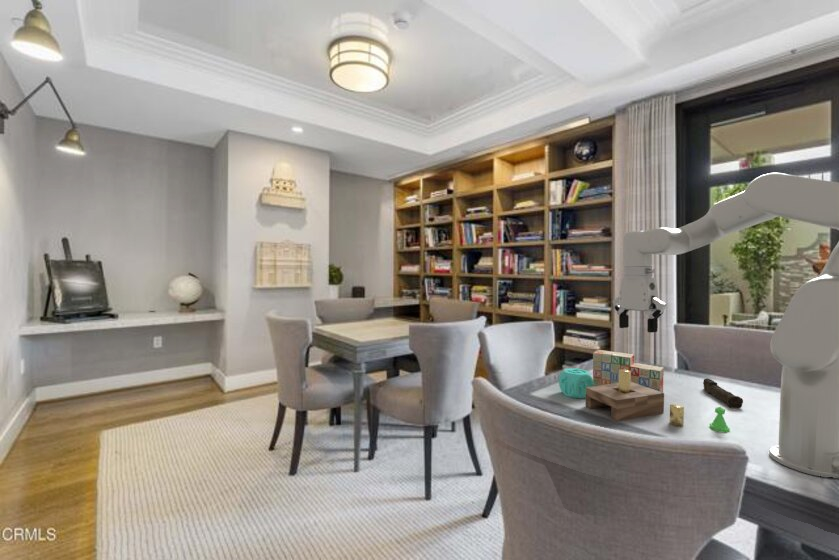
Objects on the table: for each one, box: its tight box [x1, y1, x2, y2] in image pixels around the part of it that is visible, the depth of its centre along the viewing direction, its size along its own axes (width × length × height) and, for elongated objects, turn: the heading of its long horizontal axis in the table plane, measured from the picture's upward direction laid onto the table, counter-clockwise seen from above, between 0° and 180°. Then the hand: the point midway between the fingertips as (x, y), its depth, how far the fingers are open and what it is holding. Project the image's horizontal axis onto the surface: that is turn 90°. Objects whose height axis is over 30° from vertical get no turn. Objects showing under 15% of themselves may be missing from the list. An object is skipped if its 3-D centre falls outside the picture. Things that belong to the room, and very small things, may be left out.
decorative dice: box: [558, 367, 595, 399], centre depth 131 cm, size 8×8×8 cm
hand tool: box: [702, 377, 744, 409], centre depth 127 cm, size 19×4×5 cm, turn 166°
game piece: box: [709, 406, 731, 433], centre depth 104 cm, size 4×4×6 cm
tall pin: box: [618, 369, 631, 393], centre depth 117 cm, size 3×3×12 cm
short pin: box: [669, 403, 685, 427], centre depth 107 cm, size 3×3×5 cm
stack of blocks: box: [592, 349, 665, 393], centre depth 136 cm, size 21×6×12 cm, turn 47°
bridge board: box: [585, 382, 665, 422], centre depth 117 cm, size 12×18×6 cm, turn 109°
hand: (637, 329), depth 116 cm, fingers open, 9 cm apart
